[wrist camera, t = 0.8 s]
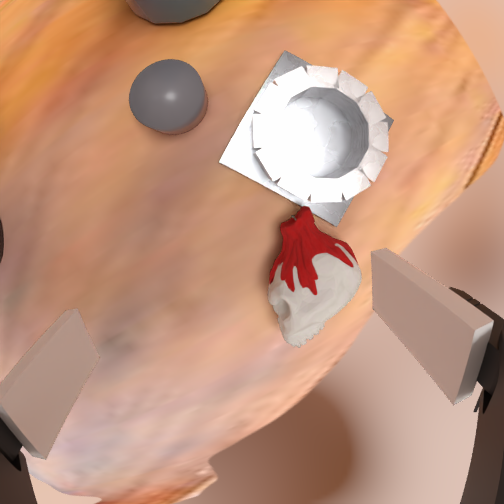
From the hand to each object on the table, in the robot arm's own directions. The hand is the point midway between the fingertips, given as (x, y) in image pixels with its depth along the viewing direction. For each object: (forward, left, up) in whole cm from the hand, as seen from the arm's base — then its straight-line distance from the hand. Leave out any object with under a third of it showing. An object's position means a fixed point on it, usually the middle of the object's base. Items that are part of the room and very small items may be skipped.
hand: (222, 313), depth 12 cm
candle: (+11, -1, -25) cm, 27 cm away
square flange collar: (+4, +13, -24) cm, 28 cm away
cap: (-12, +9, -24) cm, 29 cm away
